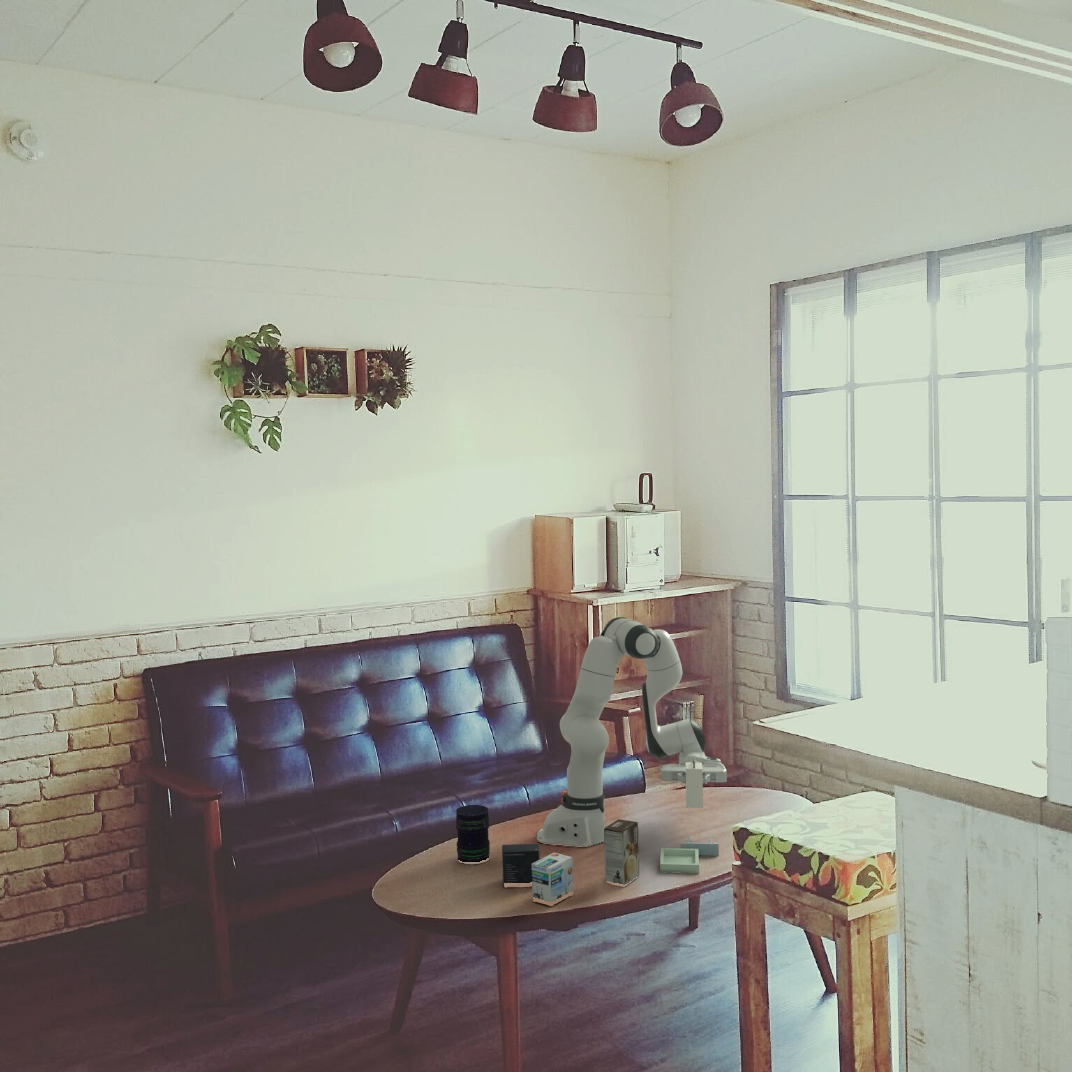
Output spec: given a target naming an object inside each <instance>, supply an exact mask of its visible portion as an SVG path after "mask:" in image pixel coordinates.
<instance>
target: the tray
mask: <svg viewBox="0 0 1072 1072" xmlns="http://www.w3.org/2000/svg"><path fill="white" fill-rule="evenodd" d="M699 856H700V855H699V853H698V849H683V848H681V847H680V848H679V847H678V848H677V847H676V848H675V847H673V848H671V847H661V848H660V859H659V862H660V863H659V868H660V869H659V871H660V872H669V873H668V874H672V873H671V872H675V873H674V874H677V873H676V872H681V873H680V874H700V860H699V859H700V858H699Z"/></svg>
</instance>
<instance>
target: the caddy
mask: <svg viewBox="0 0 1072 1072" xmlns="http://www.w3.org/2000/svg"><path fill="white" fill-rule="evenodd" d="M703 785H704V784H703V768H702V763H695V758H693V763H691V762H686V783H685V808H687V809H688V808H689V809H691V808H692V809H703V808H704V799H703V798H704V796H703V795H704V791H703V790H704V788H703V787H704V786H703Z"/></svg>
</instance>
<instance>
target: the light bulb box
mask: <svg viewBox="0 0 1072 1072" xmlns="http://www.w3.org/2000/svg"><path fill="white" fill-rule="evenodd" d="M531 888H532V890H531V891H532V898H533V897H535V898H538V899H541V900H544V901H547V902H554V901H556V900H557V899H559V898H561V897H563V896H564V895H566V894H568V893H569V892H572V891H573V892H574V857H573V856H569V855H565V854H561V853H558V852H553V853H550V854H548V855H545V856H544V857H541V858H540V860H538V861H536V862H534V863H532V887H531Z"/></svg>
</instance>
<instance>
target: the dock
mask: <svg viewBox="0 0 1072 1072" xmlns="http://www.w3.org/2000/svg"><path fill="white" fill-rule="evenodd" d="M708 839H709V842H691V841H690V840H691V839H690V835H689V834H688V835H687V841H683V842H680V845H681V846H680V848H683V849H698V853H699V856H715V857H716V856H717V857H719V856H720V854H719V851H720V849H719V847H720V846H719V844H720V843H719V842H712V835H709V837H708Z"/></svg>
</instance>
